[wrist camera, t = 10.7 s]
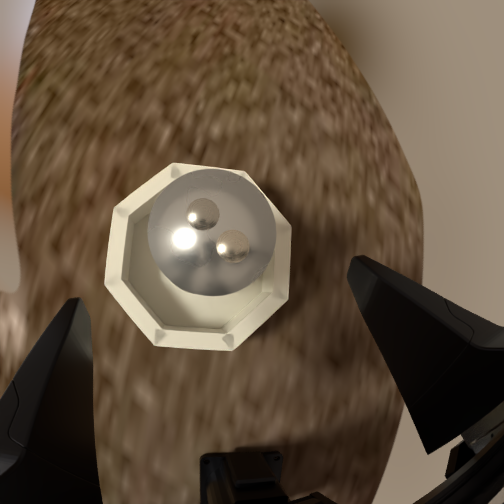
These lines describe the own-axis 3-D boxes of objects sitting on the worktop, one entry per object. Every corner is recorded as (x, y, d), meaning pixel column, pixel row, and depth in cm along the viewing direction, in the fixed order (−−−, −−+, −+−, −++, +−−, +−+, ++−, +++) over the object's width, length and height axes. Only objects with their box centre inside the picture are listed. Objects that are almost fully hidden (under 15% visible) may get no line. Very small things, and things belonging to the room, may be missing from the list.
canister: (238, 283, 20) (293, 275, 10) (174, 301, 19) (165, 312, 9) (220, 221, 20) (257, 156, 10) (157, 236, 19) (135, 182, 9)
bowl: (268, 342, 21) (285, 351, 18) (114, 332, 18) (101, 339, 15) (276, 195, 23) (292, 178, 19) (131, 178, 20) (123, 158, 17)
